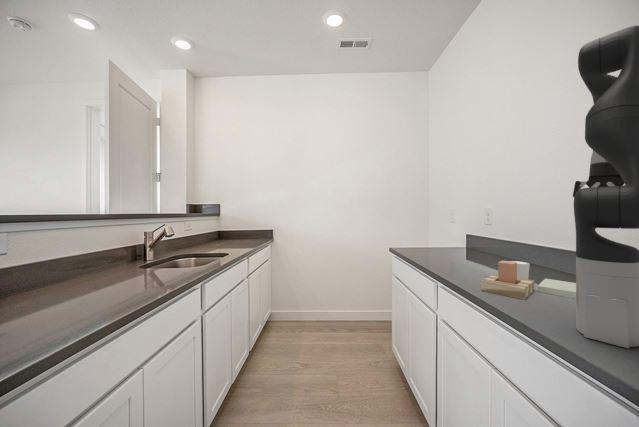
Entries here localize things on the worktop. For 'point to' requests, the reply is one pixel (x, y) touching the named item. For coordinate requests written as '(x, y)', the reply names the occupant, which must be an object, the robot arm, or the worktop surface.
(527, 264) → the white cube
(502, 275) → the terracotta block
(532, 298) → the worktop surface
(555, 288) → the sage tile platform
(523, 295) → the birch holder
